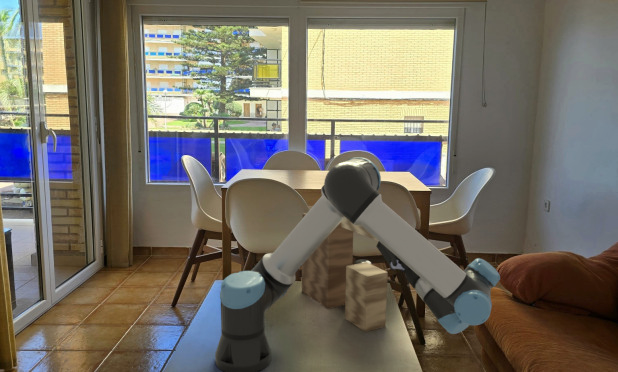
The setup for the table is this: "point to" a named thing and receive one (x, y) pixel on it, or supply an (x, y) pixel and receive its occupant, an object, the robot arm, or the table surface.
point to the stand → (329, 268)
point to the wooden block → (356, 228)
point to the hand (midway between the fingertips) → (379, 223)
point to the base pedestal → (366, 296)
